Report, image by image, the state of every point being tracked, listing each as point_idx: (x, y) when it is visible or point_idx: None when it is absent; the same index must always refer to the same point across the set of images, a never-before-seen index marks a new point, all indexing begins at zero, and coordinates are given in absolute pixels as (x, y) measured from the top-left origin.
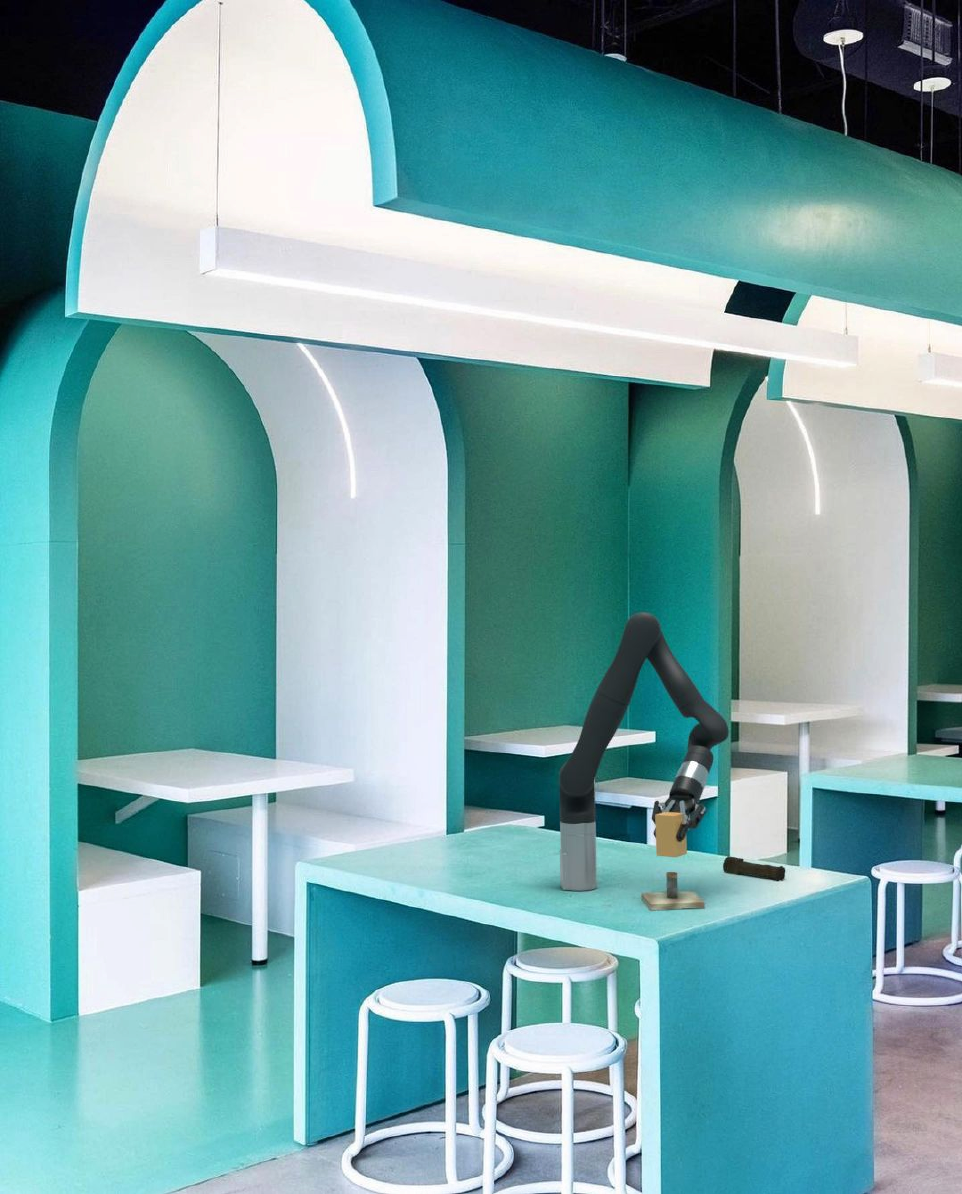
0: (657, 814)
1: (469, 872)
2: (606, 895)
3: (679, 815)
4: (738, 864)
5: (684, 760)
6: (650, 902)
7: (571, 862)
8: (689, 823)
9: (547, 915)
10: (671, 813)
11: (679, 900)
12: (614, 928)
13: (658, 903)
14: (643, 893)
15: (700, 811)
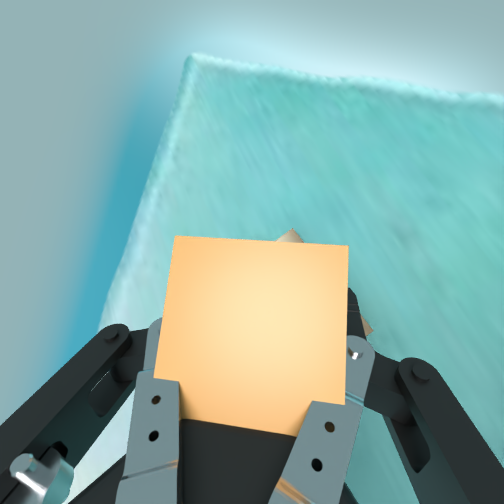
0: (336, 263)
1: None
2: (477, 335)
3: (165, 310)
4: None
5: None
6: (301, 242)
7: None
8: (134, 335)
9: (462, 98)
10: (249, 357)
11: None
12: (285, 81)
13: (280, 241)
14: (366, 328)
15: (8, 428)
